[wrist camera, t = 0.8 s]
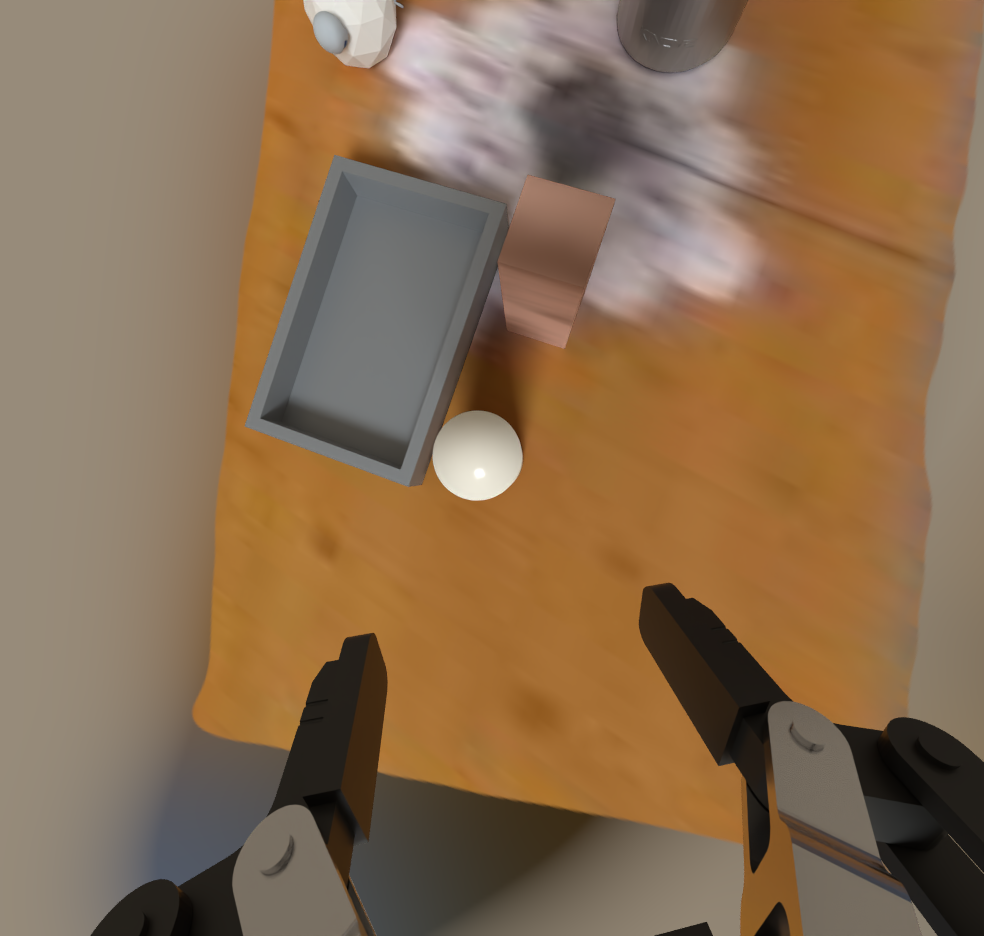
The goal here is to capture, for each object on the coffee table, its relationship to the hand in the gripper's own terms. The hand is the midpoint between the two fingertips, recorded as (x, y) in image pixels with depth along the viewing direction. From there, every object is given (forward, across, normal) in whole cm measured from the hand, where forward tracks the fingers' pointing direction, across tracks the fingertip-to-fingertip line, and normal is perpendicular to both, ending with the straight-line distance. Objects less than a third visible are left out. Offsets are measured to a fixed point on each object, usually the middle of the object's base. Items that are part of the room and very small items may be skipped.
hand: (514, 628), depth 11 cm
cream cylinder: (+20, -2, +4) cm, 20 cm away
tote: (+26, +5, -6) cm, 28 cm away
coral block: (+24, -8, -7) cm, 26 cm away
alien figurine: (+38, +4, -29) cm, 47 cm away
